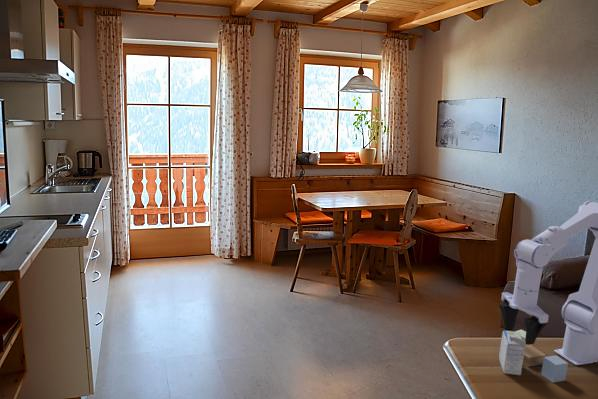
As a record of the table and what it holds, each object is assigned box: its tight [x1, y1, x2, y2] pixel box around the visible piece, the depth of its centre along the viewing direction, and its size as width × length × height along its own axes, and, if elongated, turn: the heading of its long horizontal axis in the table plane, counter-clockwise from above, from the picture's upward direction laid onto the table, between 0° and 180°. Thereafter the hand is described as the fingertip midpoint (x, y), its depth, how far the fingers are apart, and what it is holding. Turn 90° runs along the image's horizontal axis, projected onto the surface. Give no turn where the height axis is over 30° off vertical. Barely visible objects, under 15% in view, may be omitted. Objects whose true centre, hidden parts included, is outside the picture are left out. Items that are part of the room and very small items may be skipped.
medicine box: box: [498, 330, 525, 376], centre depth 139 cm, size 8×4×9 cm, turn 168°
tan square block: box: [522, 345, 547, 368], centre depth 145 cm, size 6×6×3 cm
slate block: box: [540, 354, 569, 383], centre depth 136 cm, size 4×4×5 cm
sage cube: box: [514, 329, 533, 346], centre depth 152 cm, size 4×4×4 cm
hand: (519, 336), depth 136 cm, fingers open, 7 cm apart
